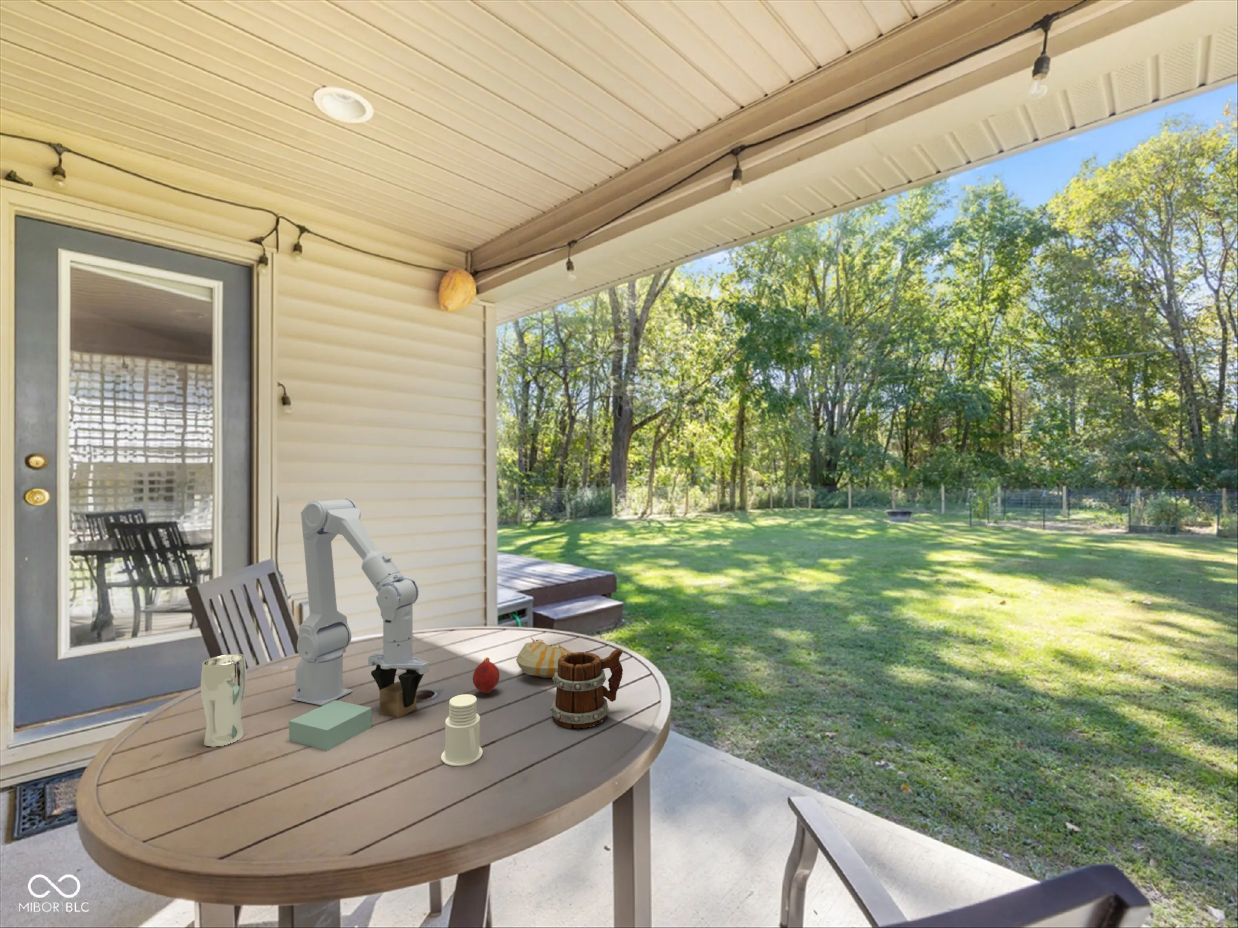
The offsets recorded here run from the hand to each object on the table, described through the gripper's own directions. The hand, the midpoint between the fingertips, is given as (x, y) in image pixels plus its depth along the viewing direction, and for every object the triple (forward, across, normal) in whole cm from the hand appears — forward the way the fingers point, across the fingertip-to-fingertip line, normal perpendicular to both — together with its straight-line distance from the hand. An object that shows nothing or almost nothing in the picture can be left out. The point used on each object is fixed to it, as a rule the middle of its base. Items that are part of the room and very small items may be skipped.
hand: (398, 703), depth 114 cm
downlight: (+2, +24, -10) cm, 26 cm away
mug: (+2, +38, +12) cm, 40 cm away
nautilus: (+2, +18, +31) cm, 36 cm away
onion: (+2, +12, +14) cm, 19 cm away
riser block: (+2, -5, -12) cm, 13 cm away
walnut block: (+2, 0, 0) cm, 2 cm away
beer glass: (+2, -22, -21) cm, 30 cm away
